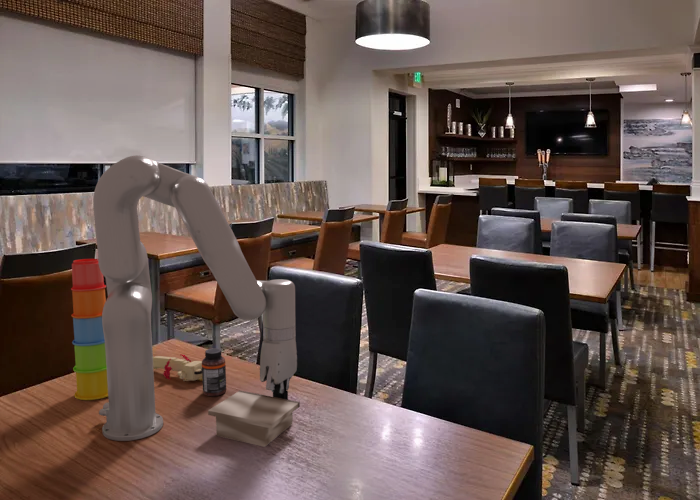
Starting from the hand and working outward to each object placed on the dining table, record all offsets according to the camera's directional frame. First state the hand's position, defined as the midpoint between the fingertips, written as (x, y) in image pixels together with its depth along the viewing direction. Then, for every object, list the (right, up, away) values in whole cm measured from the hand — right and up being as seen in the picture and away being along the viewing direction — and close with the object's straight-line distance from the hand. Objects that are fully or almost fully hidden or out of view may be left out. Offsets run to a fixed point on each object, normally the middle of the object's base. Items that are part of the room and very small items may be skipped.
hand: (280, 406), depth 134 cm
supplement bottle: (-18, 0, +11) cm, 21 cm away
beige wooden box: (-4, -2, -10) cm, 11 cm away
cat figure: (-33, +2, +23) cm, 41 cm away
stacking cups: (-48, 0, +9) cm, 49 cm away
